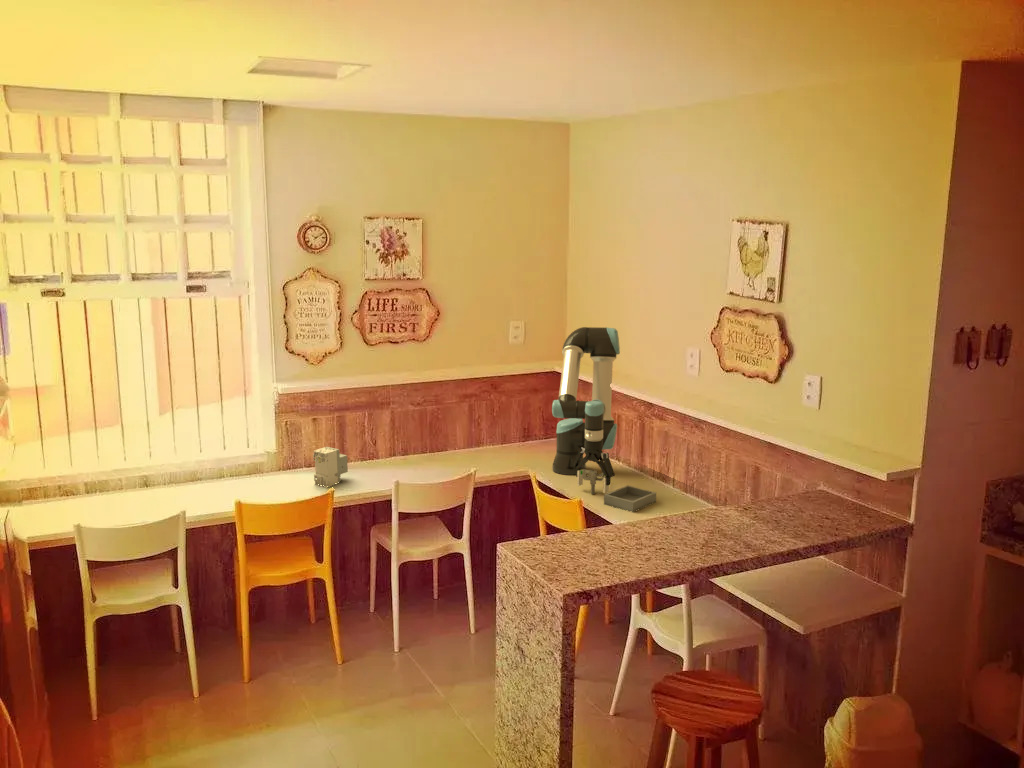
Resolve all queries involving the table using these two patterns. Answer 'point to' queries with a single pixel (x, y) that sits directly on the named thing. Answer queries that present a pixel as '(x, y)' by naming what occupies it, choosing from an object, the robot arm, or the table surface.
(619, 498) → the parts tray
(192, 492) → the table surface
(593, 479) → the mechanical component
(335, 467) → the circuit breaker
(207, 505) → the table surface
